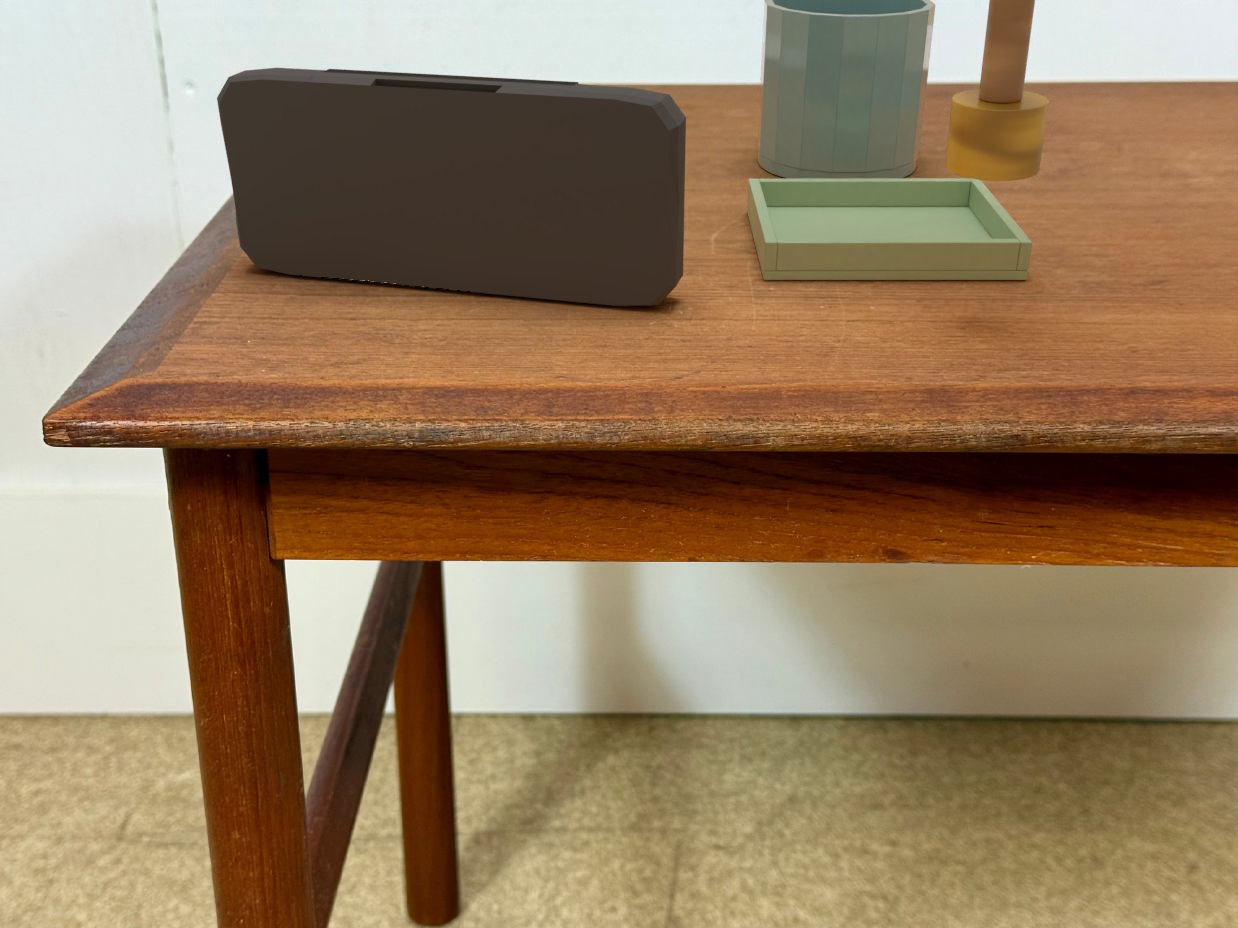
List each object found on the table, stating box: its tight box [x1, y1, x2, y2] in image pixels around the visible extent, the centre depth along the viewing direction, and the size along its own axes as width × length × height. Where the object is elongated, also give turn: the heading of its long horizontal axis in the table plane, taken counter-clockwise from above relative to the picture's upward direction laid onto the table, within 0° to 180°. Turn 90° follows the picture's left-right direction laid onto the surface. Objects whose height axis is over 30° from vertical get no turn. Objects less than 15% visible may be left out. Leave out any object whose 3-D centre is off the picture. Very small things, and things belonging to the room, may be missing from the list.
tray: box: [746, 177, 1033, 281], centre depth 68 cm, size 13×11×2 cm
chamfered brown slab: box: [216, 67, 687, 307], centre depth 61 cm, size 23×3×10 cm, turn 75°
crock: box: [757, 0, 936, 179], centre depth 80 cm, size 10×10×10 cm
